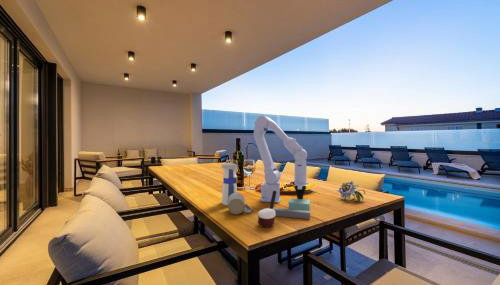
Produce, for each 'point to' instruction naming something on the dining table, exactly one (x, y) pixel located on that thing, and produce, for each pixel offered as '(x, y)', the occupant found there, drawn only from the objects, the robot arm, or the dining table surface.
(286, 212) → the gray bar
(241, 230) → the dining table surface
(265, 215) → the cocoa
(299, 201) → the block
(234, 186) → the water bottle
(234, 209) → the ceramic mug
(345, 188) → the passion flower
